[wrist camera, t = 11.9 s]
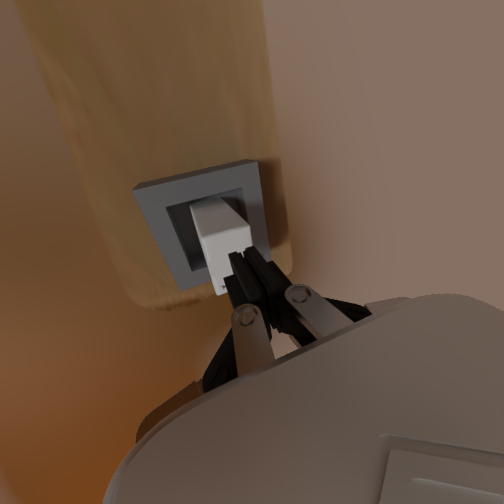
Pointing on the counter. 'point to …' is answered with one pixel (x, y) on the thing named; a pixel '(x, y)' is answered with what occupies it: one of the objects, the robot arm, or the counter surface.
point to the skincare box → (220, 237)
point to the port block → (181, 221)
